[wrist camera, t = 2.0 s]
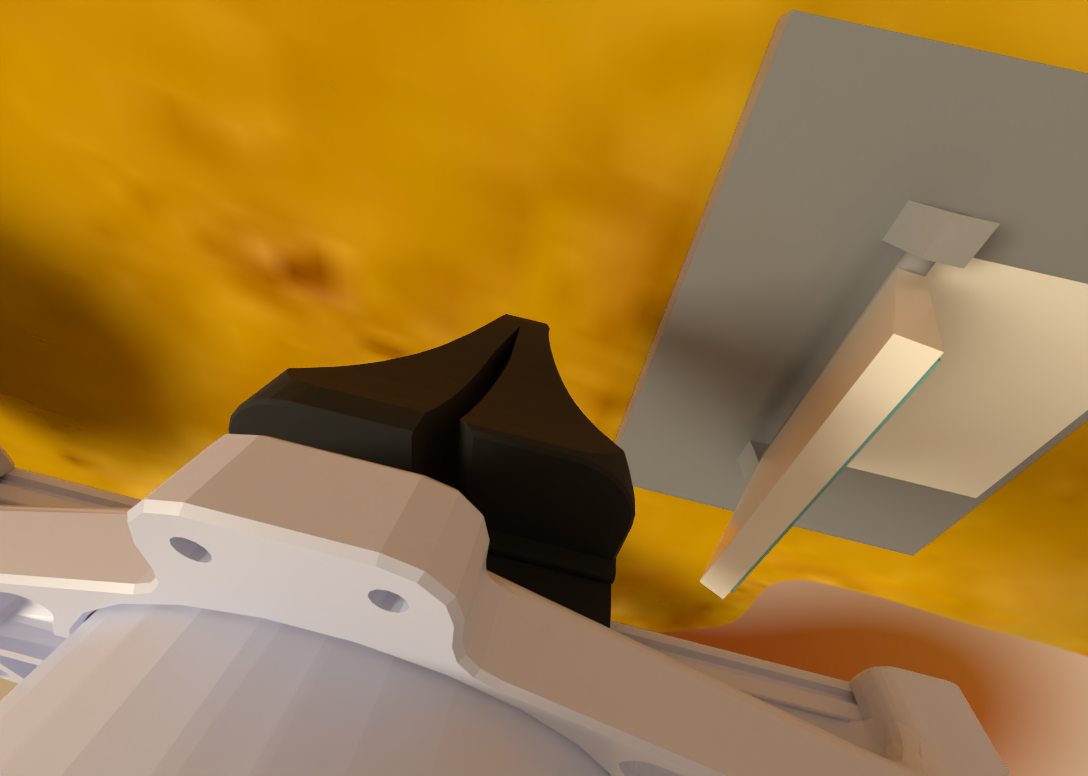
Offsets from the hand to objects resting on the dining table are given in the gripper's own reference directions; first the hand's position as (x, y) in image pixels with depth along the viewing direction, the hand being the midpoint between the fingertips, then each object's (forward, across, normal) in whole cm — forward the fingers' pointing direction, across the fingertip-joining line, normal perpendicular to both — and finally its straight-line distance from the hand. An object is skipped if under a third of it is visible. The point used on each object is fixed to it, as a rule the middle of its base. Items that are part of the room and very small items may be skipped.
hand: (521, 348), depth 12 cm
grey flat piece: (+5, -13, 0) cm, 14 cm away
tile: (0, -8, 0) cm, 8 cm away
